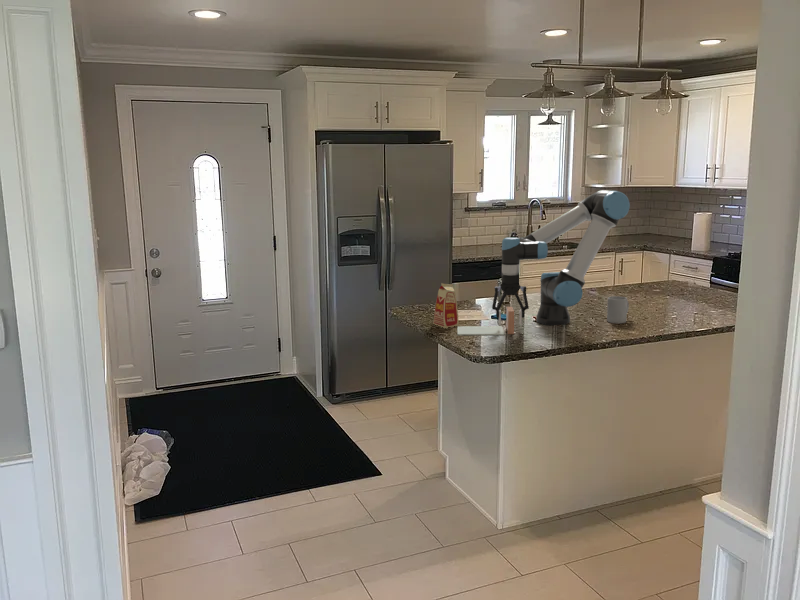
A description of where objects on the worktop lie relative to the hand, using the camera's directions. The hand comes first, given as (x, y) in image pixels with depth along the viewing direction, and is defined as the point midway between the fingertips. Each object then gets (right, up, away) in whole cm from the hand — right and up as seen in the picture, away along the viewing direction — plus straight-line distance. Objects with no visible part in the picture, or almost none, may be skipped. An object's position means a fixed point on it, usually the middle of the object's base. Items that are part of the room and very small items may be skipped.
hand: (510, 324), depth 297 cm
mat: (-13, -3, +2) cm, 13 cm away
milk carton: (-27, -1, +15) cm, 31 cm away
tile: (0, -3, +1) cm, 3 cm away
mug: (+52, +1, +15) cm, 55 cm away
